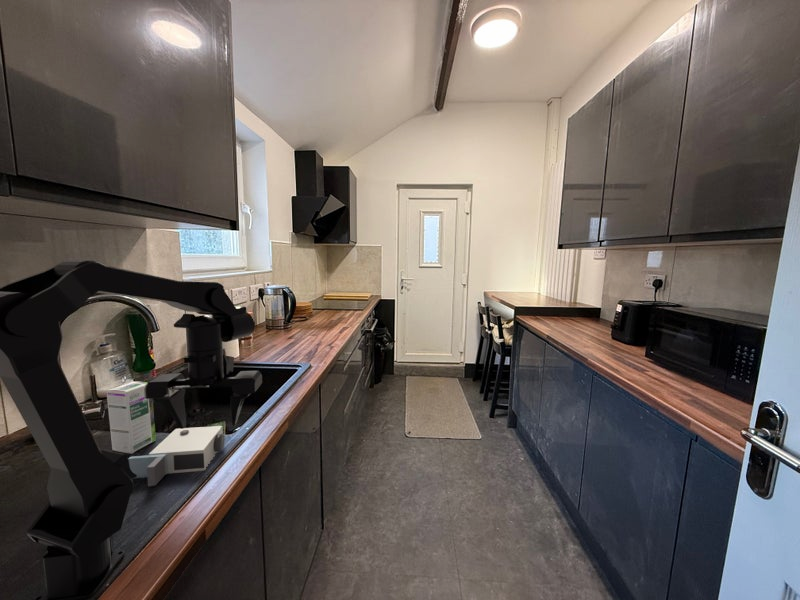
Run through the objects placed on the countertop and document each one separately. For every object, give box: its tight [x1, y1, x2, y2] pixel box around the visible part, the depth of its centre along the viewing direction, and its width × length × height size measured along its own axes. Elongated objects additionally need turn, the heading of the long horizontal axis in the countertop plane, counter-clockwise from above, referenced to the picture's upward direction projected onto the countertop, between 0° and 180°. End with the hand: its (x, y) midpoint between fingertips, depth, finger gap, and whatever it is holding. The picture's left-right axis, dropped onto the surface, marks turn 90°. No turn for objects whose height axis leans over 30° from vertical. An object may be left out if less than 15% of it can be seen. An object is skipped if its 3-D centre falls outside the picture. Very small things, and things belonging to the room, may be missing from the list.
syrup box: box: [106, 381, 157, 455], centre depth 73 cm, size 6×6×14 cm
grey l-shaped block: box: [127, 454, 168, 487], centre depth 61 cm, size 4×6×4 cm, turn 99°
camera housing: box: [148, 425, 226, 475], centre depth 69 cm, size 10×11×5 cm
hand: (209, 426), depth 61 cm, fingers open, 9 cm apart
